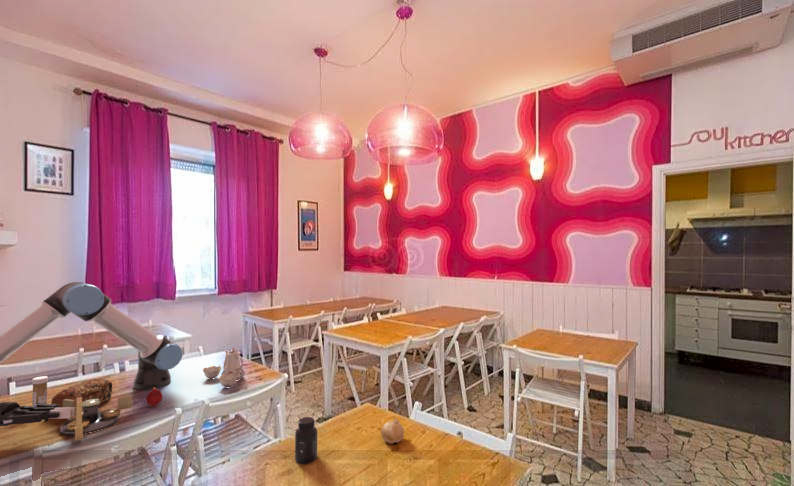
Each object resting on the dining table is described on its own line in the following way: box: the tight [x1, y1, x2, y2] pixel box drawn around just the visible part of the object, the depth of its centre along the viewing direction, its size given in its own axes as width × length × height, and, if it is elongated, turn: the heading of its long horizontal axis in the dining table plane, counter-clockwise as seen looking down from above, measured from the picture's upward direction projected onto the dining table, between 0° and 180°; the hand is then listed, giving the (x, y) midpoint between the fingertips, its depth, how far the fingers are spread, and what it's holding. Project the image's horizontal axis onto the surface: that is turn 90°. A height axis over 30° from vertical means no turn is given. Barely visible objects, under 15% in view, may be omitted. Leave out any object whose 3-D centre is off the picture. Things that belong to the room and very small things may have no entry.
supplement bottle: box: [294, 416, 318, 465], centre depth 120 cm, size 7×7×12 cm
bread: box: [50, 378, 113, 410], centre depth 156 cm, size 19×11×10 cm, turn 177°
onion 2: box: [380, 417, 405, 445], centre depth 131 cm, size 8×8×7 cm
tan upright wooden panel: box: [68, 397, 90, 442], centre depth 132 cm, size 14×6×12 cm, turn 40°
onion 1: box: [145, 387, 163, 408], centre depth 157 cm, size 6×6×8 cm
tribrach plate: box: [59, 394, 133, 437], centre depth 142 cm, size 22×18×8 cm
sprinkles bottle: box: [31, 375, 49, 406], centre depth 152 cm, size 5×5×14 cm
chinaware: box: [202, 347, 246, 389], centre depth 187 cm, size 28×17×17 cm, turn 54°
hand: (72, 412), depth 130 cm, fingers closed
